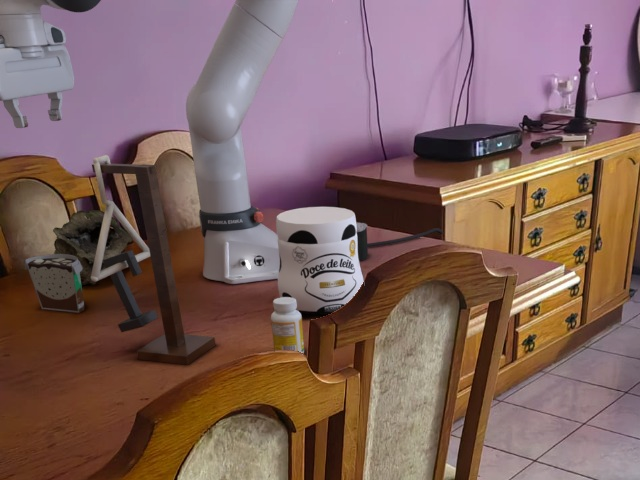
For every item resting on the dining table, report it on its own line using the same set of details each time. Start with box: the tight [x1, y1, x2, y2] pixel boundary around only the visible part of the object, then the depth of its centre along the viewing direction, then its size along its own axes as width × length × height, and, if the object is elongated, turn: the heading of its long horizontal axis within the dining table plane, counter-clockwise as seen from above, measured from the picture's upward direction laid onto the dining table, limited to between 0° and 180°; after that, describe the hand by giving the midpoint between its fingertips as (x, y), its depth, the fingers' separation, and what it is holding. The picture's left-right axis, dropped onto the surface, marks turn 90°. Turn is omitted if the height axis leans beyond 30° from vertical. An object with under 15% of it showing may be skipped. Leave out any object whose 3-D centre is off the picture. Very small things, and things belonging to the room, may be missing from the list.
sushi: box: [356, 221, 369, 262], centre depth 201 cm, size 8×8×8 cm
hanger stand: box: [91, 154, 217, 366], centre depth 143 cm, size 14×17×32 cm
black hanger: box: [103, 249, 159, 333], centre depth 147 cm, size 7×5×12 cm
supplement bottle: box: [270, 297, 305, 354], centre depth 147 cm, size 5×5×10 cm
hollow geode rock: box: [52, 209, 134, 286], centre depth 193 cm, size 28×13×15 cm
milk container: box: [275, 206, 365, 316], centre depth 166 cm, size 17×17×18 cm
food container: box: [24, 253, 85, 314], centre depth 172 cm, size 12×6×10 cm, turn 71°
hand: (39, 124), depth 151 cm, fingers open, 8 cm apart
